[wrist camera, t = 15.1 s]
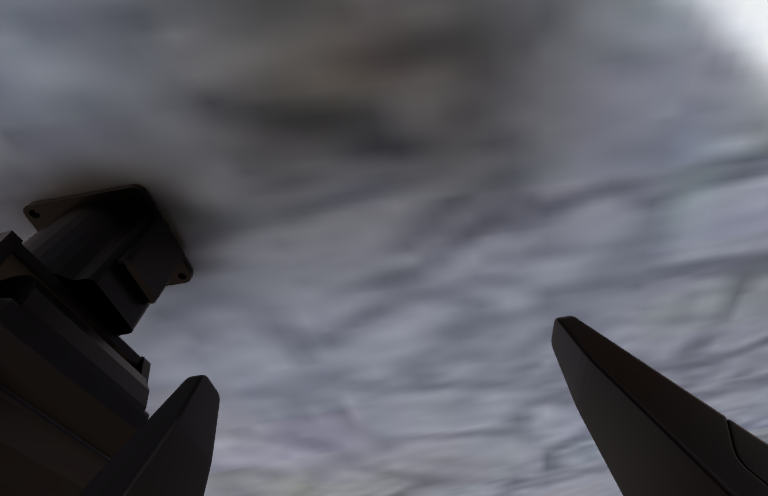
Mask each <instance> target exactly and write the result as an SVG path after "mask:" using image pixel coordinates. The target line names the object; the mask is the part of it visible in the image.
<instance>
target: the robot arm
mask: <svg viewBox="0 0 768 496" xmlns="http://www.w3.org/2000/svg"><path fill="white" fill-rule="evenodd" d="M133 192H135V193H137V194H138V195H139V197H136V196H135V195H134V194H133ZM35 211H37V212H38V213H39V214H38V213H36V212H35ZM23 212H24V214H25V216H26V217H27V218H28V220H29V221H30V222H31V223H32V224H33V226H34V227H35V228H36V229H37V231H38V232H37V233H36V234H35V235H33V236H32V237H31V238H29V239H28V240H27V241H26V242H24V243H23V244H22V242H23V240H22V239H21V238H19V237H18V236H17V235H16V234H15V233H14V232H13V231H12V230H10V231H7V232H4V233H0V496H204V492H205V488H206V484H207V480H208V475H209V471H210V466H211V462H212V455H213V449H214V441H215V433H216V426H217V418H218V410H219V402H220V398H219V394H218V392H217V390H216V389H215V387H214V386H213V384H212V383H211V381H210V380H209V378H208V377H207V376H205V375H198V376H192V377H189V378H187V379H186V380H185V381H184V382H183V383H182V384H181V385H180V386H179V387H178V389H177V390H176V391H175V392H174V393H173V394H172V395H171V396H170V397H169V398H168V399H167V400H166V401H165V402H164V403H163V405H162V406H161V407H160V408H159V409H158V410H157V411H156V412H155V413H154V414H153V415H152V416H151V417H150V418H149V414H148V412H146V411H145V409H146V405H147V400H148V394H149V388H148V385H147V384H148V378H149V371H150V365H151V364H150V363H149V362H148V361H147V360H146V359H145V358H144V357H140V356H139V355H138V354H137V353H136V352H135V351H134V350H133V349H132V348H131V347H130V346H128V345H127V344H126V343H125V342H124V341H123V340H122V339H121V338H120V337H119V336H120V335H123V334H129V333H132V331H133V330H134V328H135V326H136V325H137V323H138V322H139V320H140V319H141V317H142V316H143V314H144V312H145V311H146V309H147V308H148V306H149V305H150V304H153V303H155V302H156V301H157V299H158V298H159V296H160V294H161V293H162V291H163V290H164V288H165V286H168V285H174V284H180V283H186V282H189V281H190V280H191V278H192V276H193V271H192V269H191V268H190V266H189V264H188V262H187V261H186V259H185V257H184V253H183V251H182V249H181V248H180V246H179V244H178V242H177V241H176V239H175V237H174V235H173V234H172V232H171V230H170V228H169V227H168V225H167V223H166V221H164V220H163V219H162V217H161V215H160V213H159V212H158V210H157V208H156V206H155V205H154V203H153V201H152V200H151V198H150V196H149V194H148V193H147V191H146V190H145V189H144V188H143V187H142V186H139V185H128V186H123V187H117V188H111V189H106V190H100V191H94V192H89V193H83V194H78V195H72V196H66V197H61V198H55V199H49V200H44V201H38V202H33V203H30V204H29V205H27V206H26V207H25V208H24V209H23ZM181 273H183V274H185V275H182V274H181ZM551 341H552V347H553V350H554V353H555V355H556V358H557V360H558V363H559V365H560V368H561V370H562V373H563V375H564V378H565V380H566V383H567V385H568V388H569V390H570V393H571V395H572V398H573V400H574V402H575V405H576V407H577V409H578V411H579V413H580V415H581V417H582V419H583V421H584V423H585V424H586V426H587V428H588V430H589V432H590V434H591V436H592V438H593V440H594V441H595V443H596V445H597V447H598V449H599V451H600V453H601V455H602V457H603V458H604V460H605V462H606V464H607V466H608V468H609V470H610V472H611V474H612V475H613V477H614V479H615V481H616V483H617V485H618V487H619V489H620V491H621V492H622V494H623V496H768V444H767V443H765V442H764V441H762V440H761V439H759V438H757V437H756V436H754V435H753V434H751V433H750V432H748V431H747V430H745V429H744V428H742V427H741V426H739V425H738V424H736V423H735V422H733V421H732V420H727V419H726V417H725V416H724V415H722V414H721V413H719V412H718V411H716V410H715V409H713V408H712V407H710V406H709V405H707V404H706V403H704V402H703V401H701V400H700V399H698V398H697V397H695V396H693V395H692V394H690V393H689V392H687V391H686V390H684V389H683V388H681V387H680V386H678V385H677V384H675V383H674V382H672V381H671V380H669V379H668V378H666V377H665V376H663V375H662V374H660V373H659V372H657V371H656V370H654V369H653V368H651V367H650V366H648V365H647V364H645V363H644V362H642V361H641V360H639V359H638V358H636V357H635V356H633V355H631V354H630V353H628V352H627V351H625V350H624V349H622V348H621V347H619V346H618V345H616V344H615V343H613V342H612V341H610V340H609V339H607V338H606V337H604V336H603V335H601V334H600V333H598V332H597V331H595V330H594V329H592V328H591V327H589V326H588V325H586V324H585V323H583V322H582V321H580V320H579V319H577V318H575V317H573V316H565V317H559V318H556V319H555V321H554V326H553V333H552V340H551ZM148 418H149V419H148Z"/></svg>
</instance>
